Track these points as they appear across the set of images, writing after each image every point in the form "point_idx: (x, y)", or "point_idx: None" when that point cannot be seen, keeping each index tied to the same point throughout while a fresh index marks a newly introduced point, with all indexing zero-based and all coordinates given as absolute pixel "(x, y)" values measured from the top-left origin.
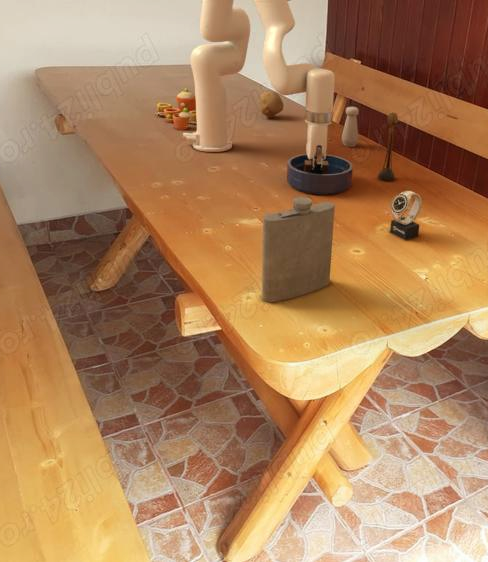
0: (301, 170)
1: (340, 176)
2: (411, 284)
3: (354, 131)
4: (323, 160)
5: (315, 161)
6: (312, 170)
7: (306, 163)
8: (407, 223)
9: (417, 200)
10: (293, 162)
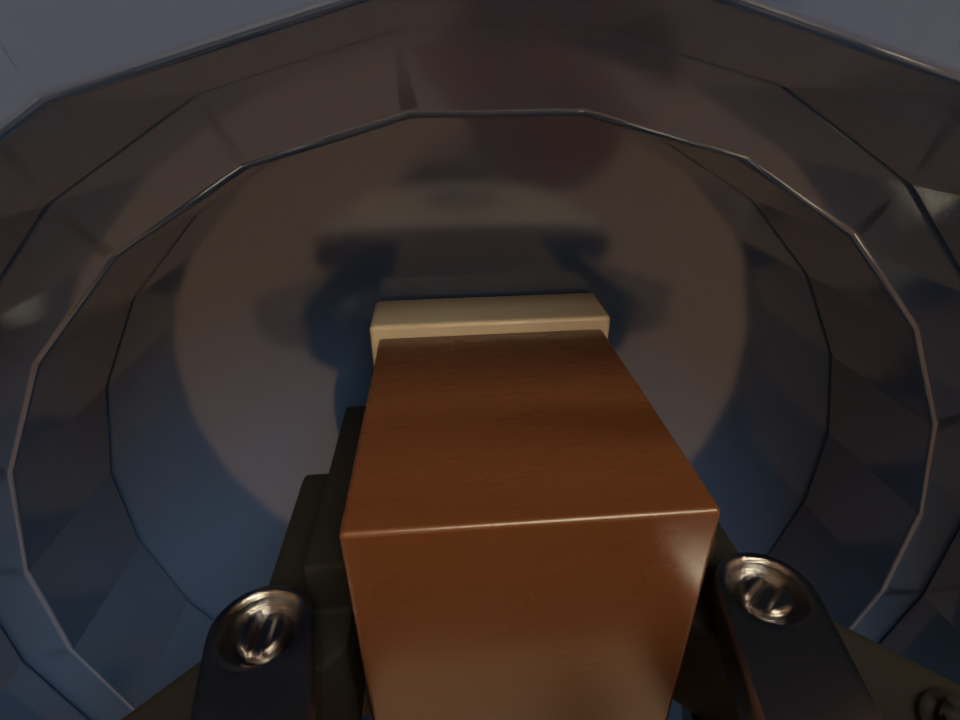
0: (837, 288)
1: None
2: None
3: None
4: (933, 658)
5: (607, 704)
6: (314, 566)
7: (444, 552)
8: None
9: None
10: (945, 154)
